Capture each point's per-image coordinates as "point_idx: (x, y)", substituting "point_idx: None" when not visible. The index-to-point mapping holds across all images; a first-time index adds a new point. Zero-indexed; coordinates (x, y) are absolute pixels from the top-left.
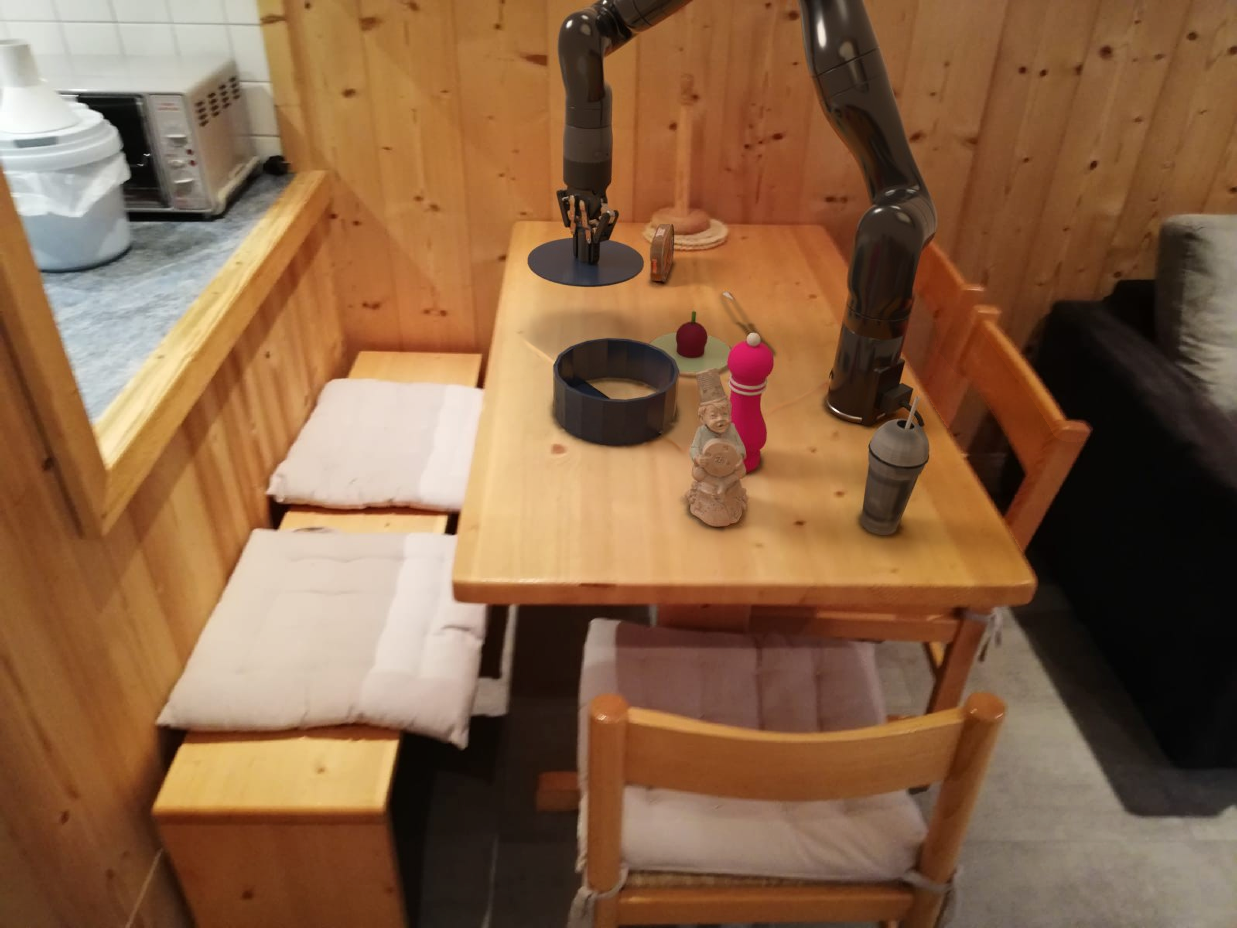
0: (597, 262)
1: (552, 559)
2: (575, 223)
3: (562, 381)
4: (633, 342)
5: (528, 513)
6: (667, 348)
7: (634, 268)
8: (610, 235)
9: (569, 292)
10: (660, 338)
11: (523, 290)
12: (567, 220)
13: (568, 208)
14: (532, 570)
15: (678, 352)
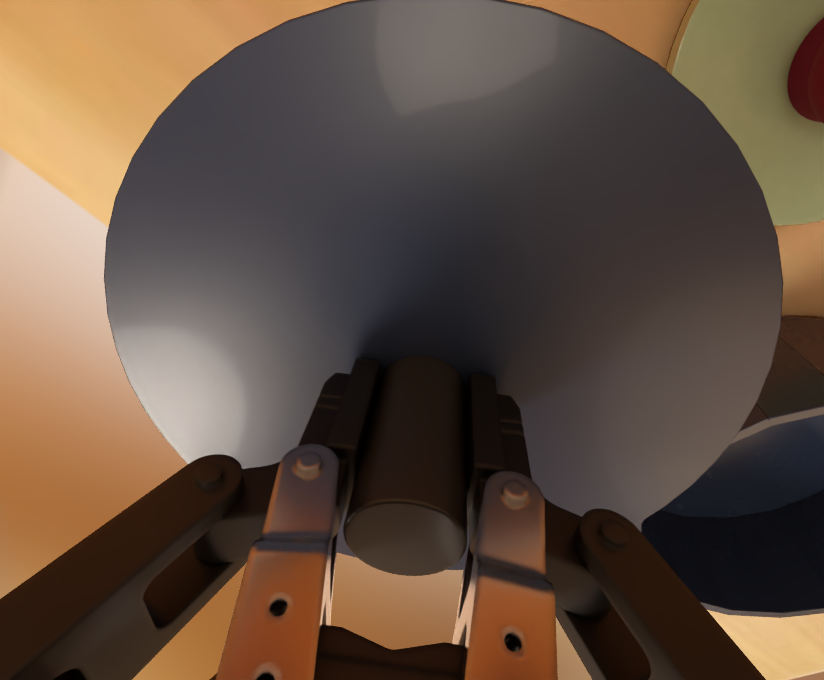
0: (489, 373)
1: (820, 654)
2: (330, 612)
3: (709, 606)
4: (796, 419)
5: (743, 628)
6: (748, 118)
7: (730, 289)
8: (666, 568)
9: (149, 39)
10: (686, 74)
11: (78, 169)
12: (225, 581)
13: (134, 645)
14: (804, 668)
15: (810, 119)
